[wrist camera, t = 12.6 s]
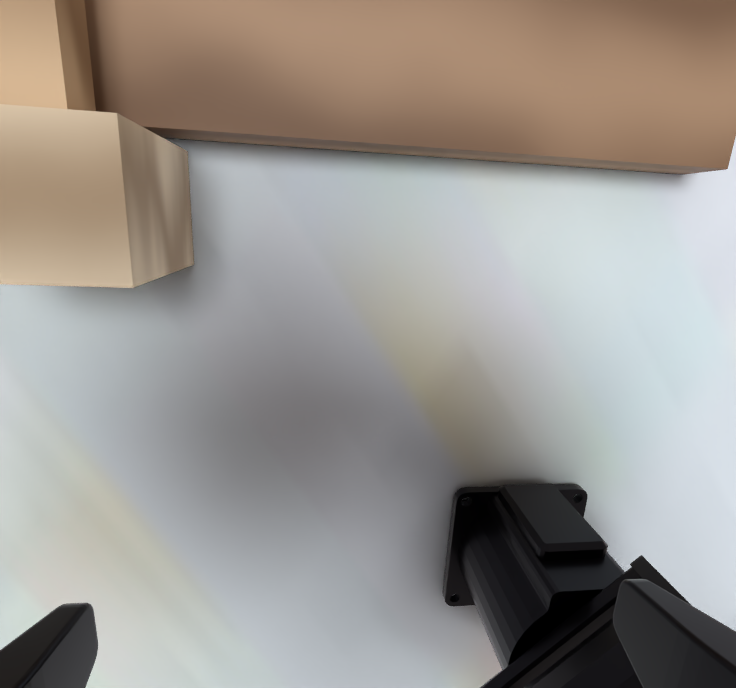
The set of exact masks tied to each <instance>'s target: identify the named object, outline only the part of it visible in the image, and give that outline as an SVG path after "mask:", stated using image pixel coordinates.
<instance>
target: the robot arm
mask: <svg viewBox="0 0 736 688" xmlns="http://www.w3.org/2000/svg"><path fill="white" fill-rule="evenodd" d="M576 494H577V496H576V497H574V496H575V495H576ZM466 497H469V499H468V500H466V501H462V500H463V499H464V498H466ZM573 497H574V498H573ZM586 502H587V493H586V491H585V490H584V489H583V488H582V487H580V486H579V485H575V484H573V485H553V484H526V485H504V486H499V487H465V488H461V489H459V490H457V492H456V493H455V495H454V499H453V508H452V516H451V525H450V534H449V542H448V551H447V560H446V568H445V577H444V586H443V596H444V599H445V602H446V603H447V604H448V605H450V606H465V605H475V606H476V608H477V610H478V613H479V615H480V618H481V620H482V622H483V625H484V627H485V629H486V632H487V634H488V637H489V639H490V641H491V644H492V646H493V649H494V651H495V653H496V656H497V658H498V661H499V663H500V665H501V668H502V671H500V672H499V673H498V674H497V675H495V676H494V677H493V678H492V679H490V680H489V681H488V682H487V683H485V684H484V685H483V686H482V687H480V688H736V631H734V630H732V629H730V628H729V627H727V626H725V625H724V624H722V623H720V622H719V621H717V620H715V619H713V618H712V617H710V616H708V615H707V614H705V613H703V612H701V611H700V610H698V609H696V608H695V607H693V606H692V605H691V604H690V603H689V602H688V601H687V600H686V599H685V598H684V597H683V596H682V595H681V594H680V593H679V592H678V591H677V590H676V589H675V588H674V587H673V586H672V585H671V584H670V583H669V582H668V581H667V580H666V579H665V578H664V577H663V576H662V575H661V574H660V573H659V572H658V571H657V570H656V569H655V568H654V567H653V566H652V565H651V564H650V563H649V562H648V561H647V560H646V559H645V558H644V557H643V556H642V555H641V556H640V557H638V558H637V559H636V560H635V561H633V562H632V563H631V564H630V565H631V566H632V567H631V568H630V569H628V570H627V571H626V572H624V571H623V569H622V568H621V567H620V566H619V565H618V564H617V563H616V561H615V560H614V559H613V558H612V557H611V556H610V555H609V554H608V552H607V547H608V546H607V544H606V542H605V541H604V540H603V539H602V538H601V537H600V536H599V535H598V534H597V532H596V531H595V530H594V529H593V528H592V527H591V526H590V525H589V524H588V522H587V521H586V520H585V519H584V518H583V516H584V512H585V507H586ZM453 594H455V595H453ZM452 595H453V596H452ZM97 650H98V639H97V632H96V625H95V617H94V611H93V607H92V606H91V604H89V603H70V604H63V605H61V606H59V607H57V608H56V609H55V610H53V611H52V612H51V613H49V614H48V615H47V616H45V617H44V618H43V619H41V620H40V621H39V622H37V623H36V624H35V625H33V626H32V627H31V628H29V629H28V630H27V631H25V632H24V633H23V634H21V635H20V636H19V637H17V638H16V639H15V640H13V641H12V642H11V643H9V644H8V645H7V646H5V647H4V648H3V649H1V650H0V688H85V687H86V684H87V682H88V679H89V676H90V673H91V671H92V668H93V665H94V663H95V660H96V656H97Z"/></svg>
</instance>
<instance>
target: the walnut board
mask: <svg viewBox="0 0 736 688" xmlns="http://www.w3.org/2000/svg"><path fill="white" fill-rule="evenodd" d="M84 2H85V12H86V21H87V31H88V40H89V50H90V59H91V69H92V79H93V88H94V98H95V107H96V111H98V112H111V113H118V114H120V115H122V116H123V117H125V118H127V119H129V120H131V121H133V122H135V123H136V124H138V125H140V126H142V127H144V128H146V129H147V130H149V131H151V132H153V133H155V134H157V135H159V136H160V137H162V138H176V139H190V140H205V141H219V142H233V143H247V144H261V145H275V146H290V147H304V148H318V149H332V150H346V151H360V152H375V153H389V154H403V155H417V156H431V157H445V158H460V159H474V160H488V161H502V162H516V163H530V164H545V165H559V166H573V167H587V168H601V169H615V170H630V171H644V172H658V173H672V174H691V173H699V172H708V171H716V170H724V169H728V165H729V161H730V156H731V152H732V148H733V144H734V140H735V136H736V0H84Z"/></svg>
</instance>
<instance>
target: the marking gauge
mask: <svg viewBox="0 0 736 688" xmlns="http://www.w3.org/2000/svg"><path fill="white" fill-rule="evenodd" d="M192 265H194V254H193V236H192V219H191V201H190V183H189V166H188V151H186V150H184V149H182V148H181V147H179V146H177V145H175V144H173V143H171V142H170V141H168V140H166V139H164V138H162V137H160V136H159V135H157V134H155V133H153V132H151V131H149V130H147V129H146V128H144V127H142V126H140V125H138V124H136V123H135V122H133V121H131V120H129V119H127V118H125V117H123V116H122V115H120V114H118V113H111V112H98V111H96V107H95V98H94V88H93V79H92V69H91V59H90V50H89V40H88V31H87V21H86V12H85V2H84V0H0V284H11V285H46V286H81V287H116V288H134V287H137V286H140V285H142V284H145V283H148V282H150V281H153V280H155V279H158V278H161V277H163V276H166V275H168V274H171V273H174V272H176V271H179V270H182V269H184V268H187V267H189V266H192Z"/></svg>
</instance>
